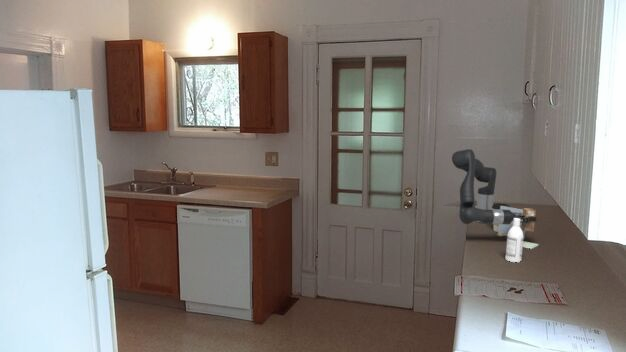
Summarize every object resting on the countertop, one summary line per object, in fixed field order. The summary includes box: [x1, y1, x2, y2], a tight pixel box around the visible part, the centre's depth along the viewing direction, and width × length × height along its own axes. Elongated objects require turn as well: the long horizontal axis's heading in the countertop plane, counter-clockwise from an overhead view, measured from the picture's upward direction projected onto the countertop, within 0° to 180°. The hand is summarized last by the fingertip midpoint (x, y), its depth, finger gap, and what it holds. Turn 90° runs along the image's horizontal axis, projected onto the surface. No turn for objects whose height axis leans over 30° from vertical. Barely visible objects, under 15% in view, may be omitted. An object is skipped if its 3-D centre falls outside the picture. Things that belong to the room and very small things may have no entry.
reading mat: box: [523, 240, 539, 250], centre depth 257 cm, size 9×9×1 cm
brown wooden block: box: [521, 207, 537, 232], centre depth 255 cm, size 4×5×11 cm
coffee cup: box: [492, 202, 510, 233], centre depth 282 cm, size 10×10×15 cm
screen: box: [497, 206, 526, 241], centre depth 270 cm, size 14×6×16 cm, turn 45°
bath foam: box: [504, 218, 524, 263], centre depth 231 cm, size 7×7×20 cm
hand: (533, 217), depth 254 cm, fingers closed on brown wooden block, 4 cm apart
